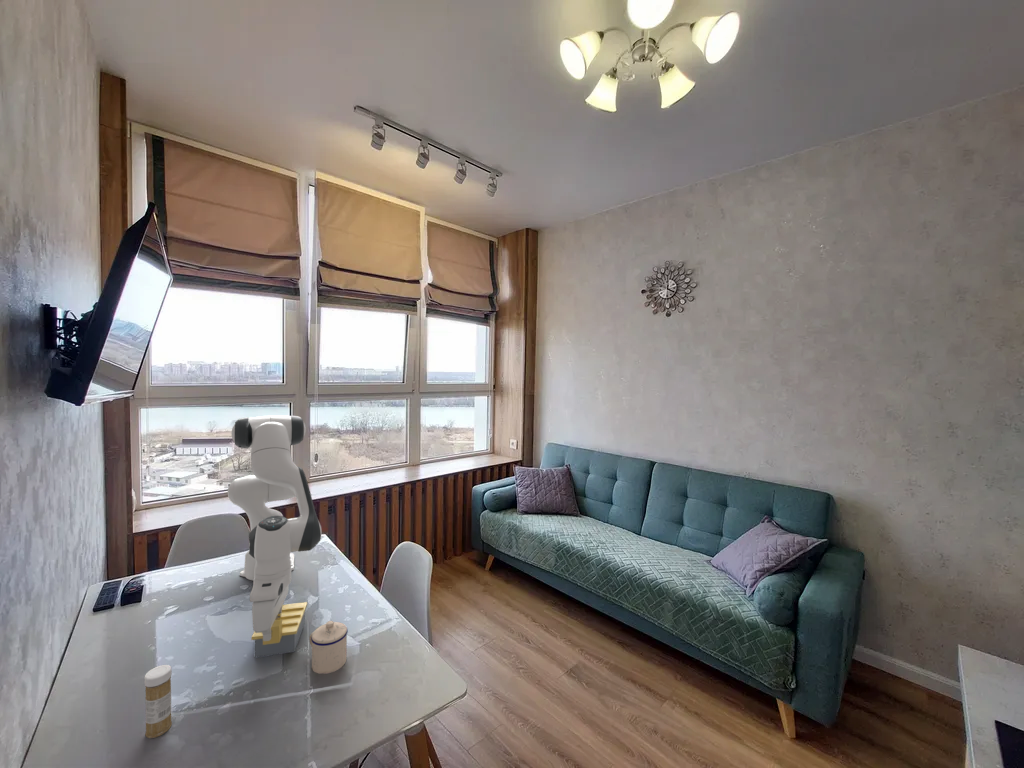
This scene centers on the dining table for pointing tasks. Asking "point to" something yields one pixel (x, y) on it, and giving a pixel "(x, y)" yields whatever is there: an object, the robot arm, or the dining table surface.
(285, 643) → the tub
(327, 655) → the teacup with lid
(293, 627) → the yellow flat ridged piece
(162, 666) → the sprinkles bottle
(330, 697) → the dining table surface
